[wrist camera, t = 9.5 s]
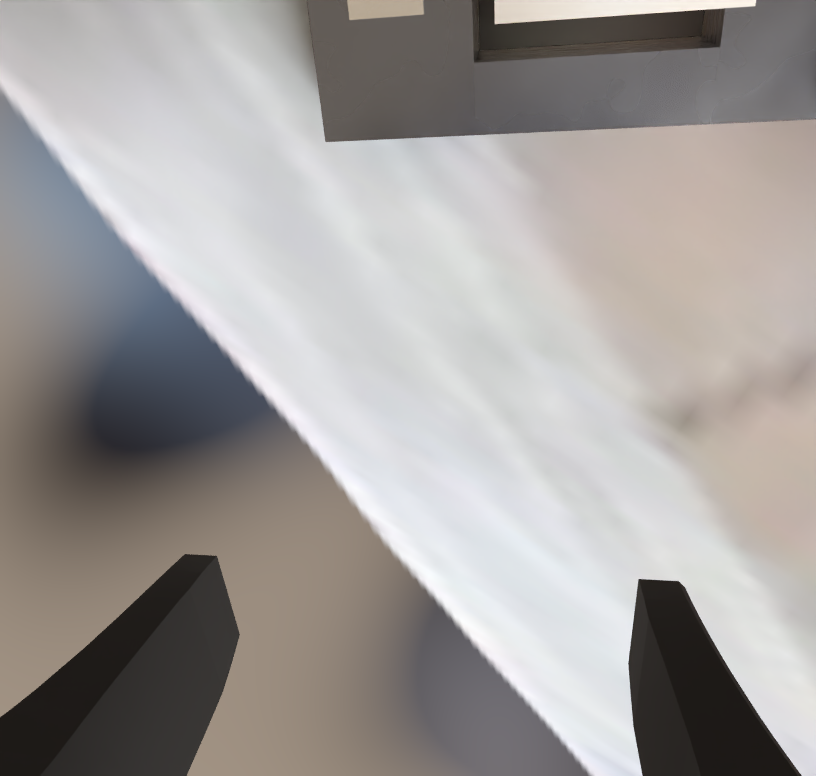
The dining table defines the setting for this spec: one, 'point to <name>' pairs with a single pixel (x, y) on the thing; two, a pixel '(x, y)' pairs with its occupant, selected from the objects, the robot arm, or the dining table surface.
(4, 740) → the robot arm
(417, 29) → the port panel
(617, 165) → the dining table surface
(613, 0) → the plug
